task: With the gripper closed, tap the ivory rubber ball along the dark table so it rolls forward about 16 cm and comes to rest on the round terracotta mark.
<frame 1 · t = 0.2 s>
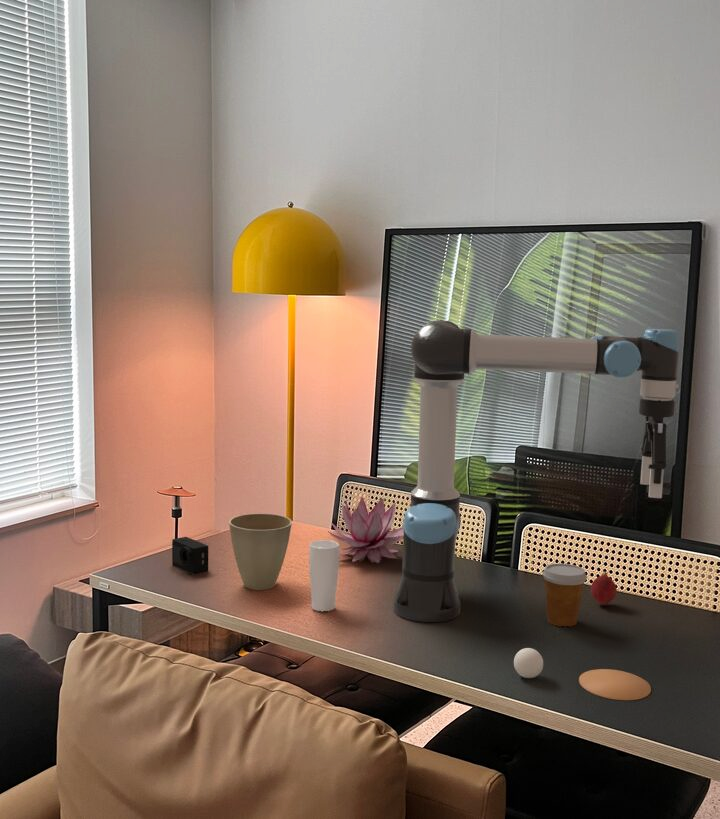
hand: (650, 490, 211), 28 cm above the table, tool pointing down, fingers open, 13 cm apart
digital camera: (187, 569, 235), on the table
ball: (528, 663, 175), on the table
drinking glass: (323, 609, 209), on the table
red bumpy oval piece: (602, 606, 216), on the table
plant pot: (259, 586, 224), on the table
disposable coffee cup: (561, 622, 205), on the table
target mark: (614, 684, 173), on the table
decorative flower: (367, 558, 248), on the table
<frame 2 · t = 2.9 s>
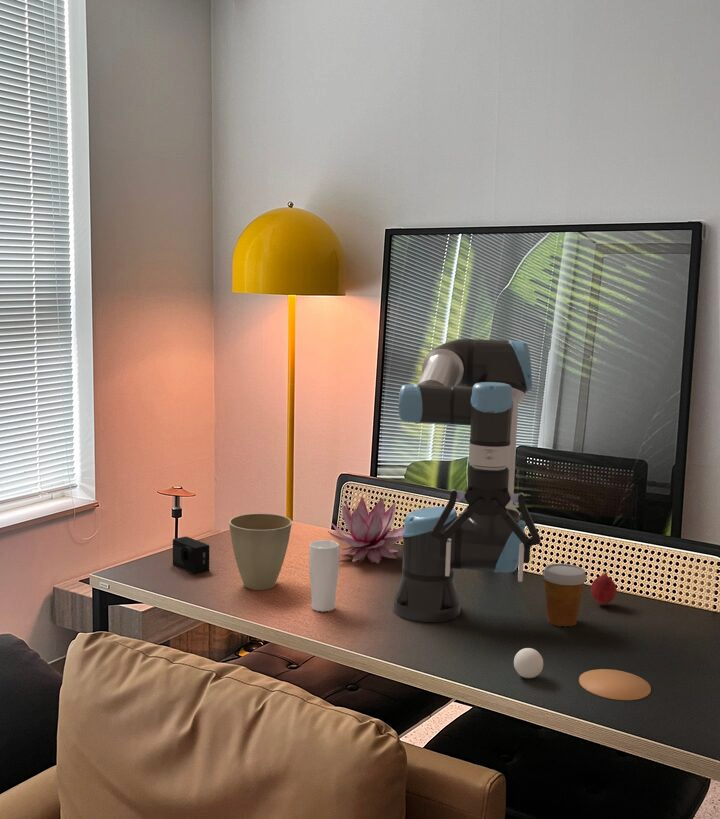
hand: (483, 576, 175), 19 cm above the table, tool pointing down, fingers open, 13 cm apart
nothing on the table moved.
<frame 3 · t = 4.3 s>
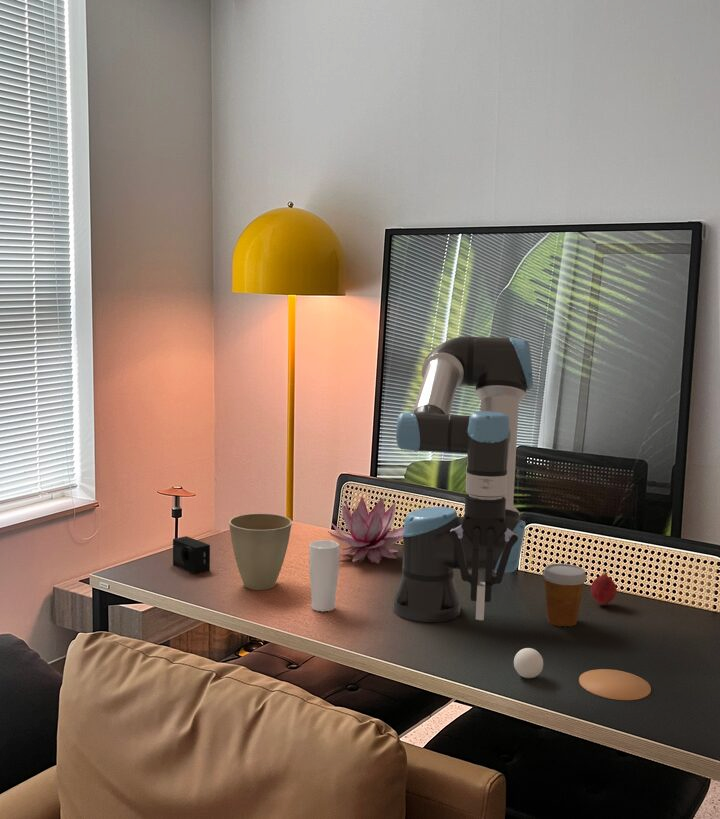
hand: (479, 617, 175), 11 cm above the table, tool pointing down, fingers closed
nothing on the table moved.
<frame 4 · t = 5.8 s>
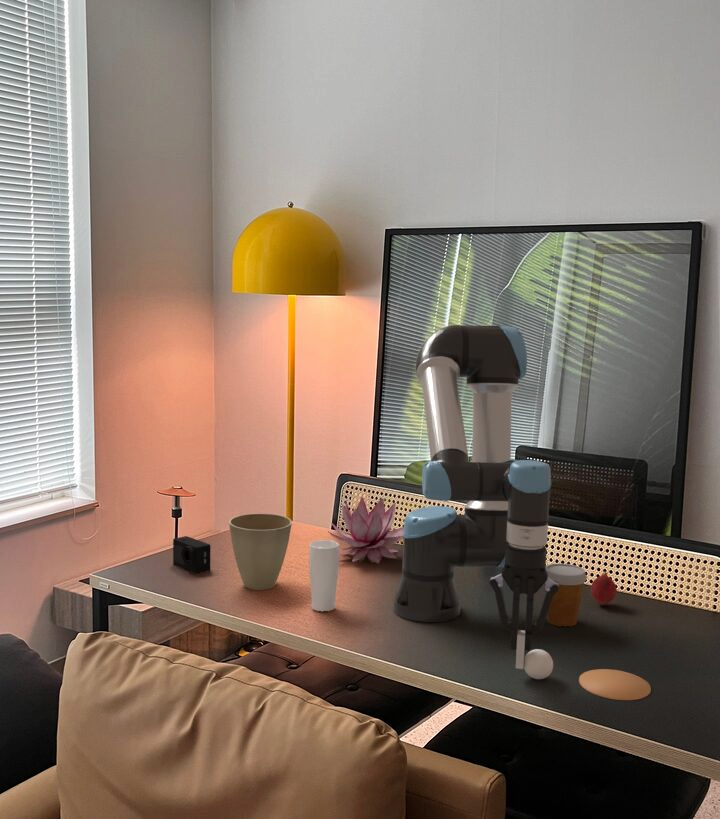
hand: (519, 665, 175), 2 cm above the table, tool pointing down, fingers closed
ball: (538, 664, 175), on the table
everything else where it was.
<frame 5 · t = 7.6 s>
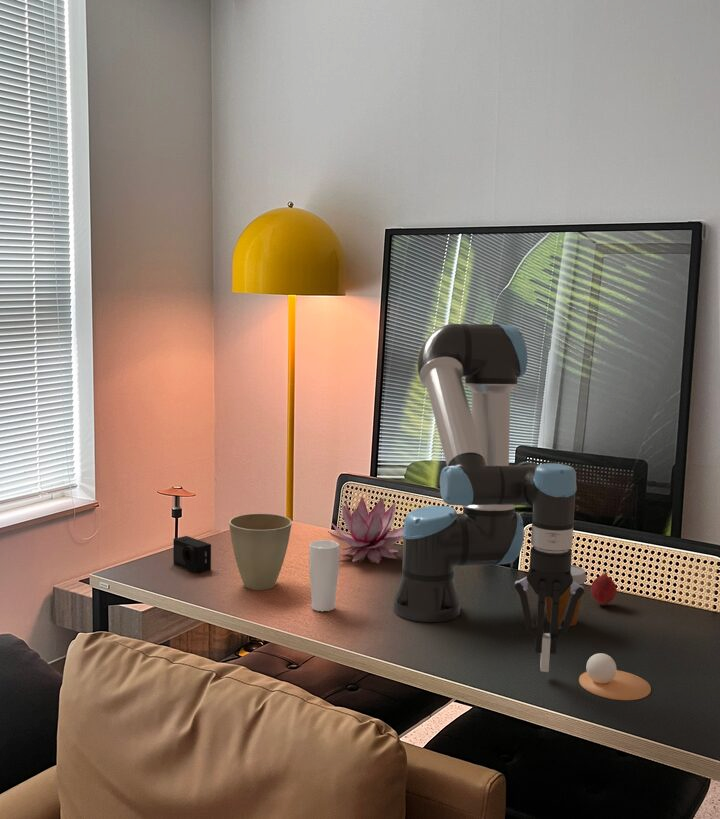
hand: (544, 668, 175), 2 cm above the table, tool pointing down, fingers closed
ball: (601, 668, 174), on the table
everything else where it was.
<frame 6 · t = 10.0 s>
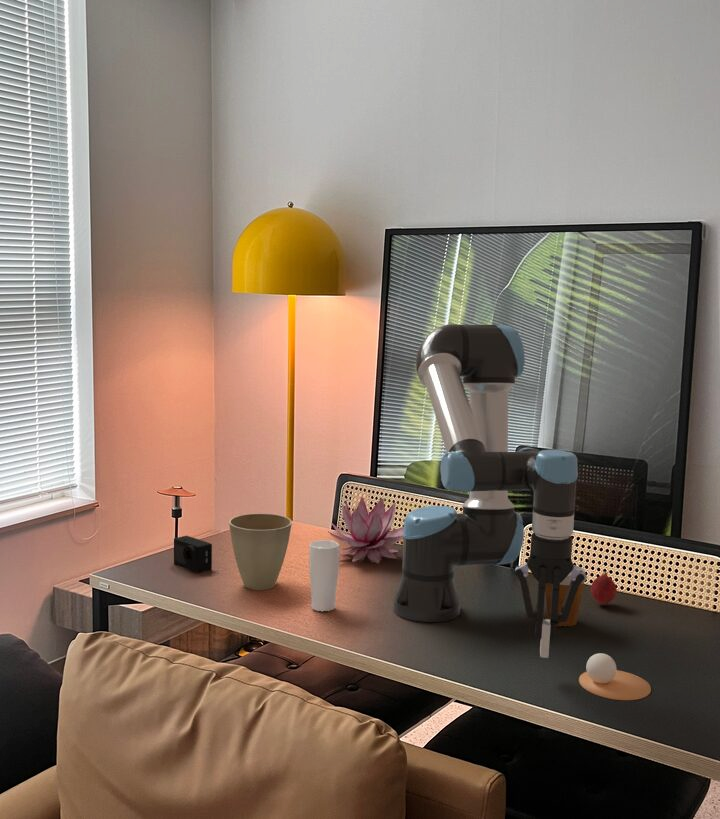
hand: (544, 654, 175), 4 cm above the table, tool pointing down, fingers closed
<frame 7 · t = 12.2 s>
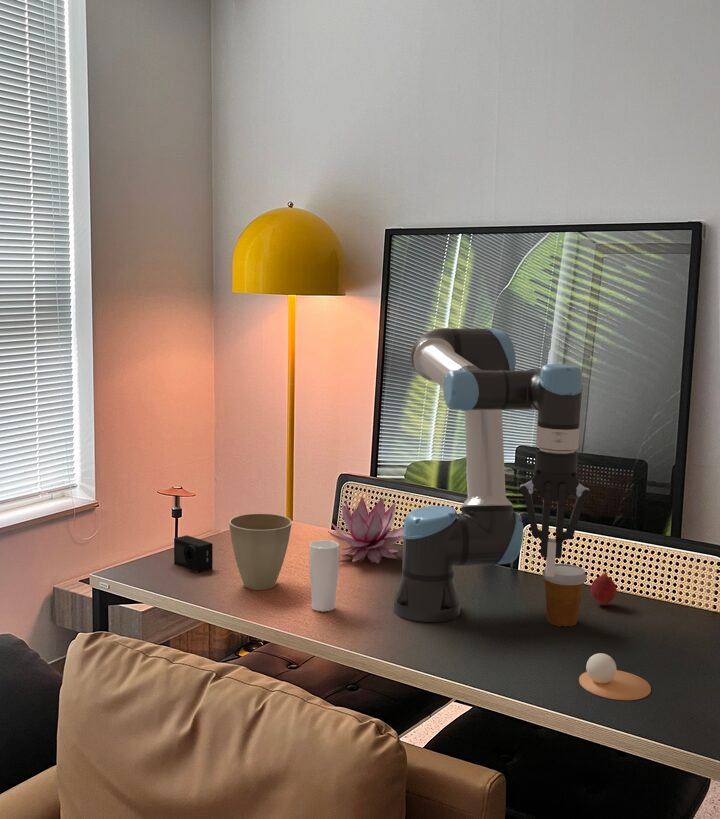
hand: (549, 574, 173), 20 cm above the table, tool pointing down, fingers closed
at the end: ball 2.6 cm from the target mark (horizontally); ball at rest at the end (0.0 cm/s); ball moved 13.5 cm from its start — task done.
